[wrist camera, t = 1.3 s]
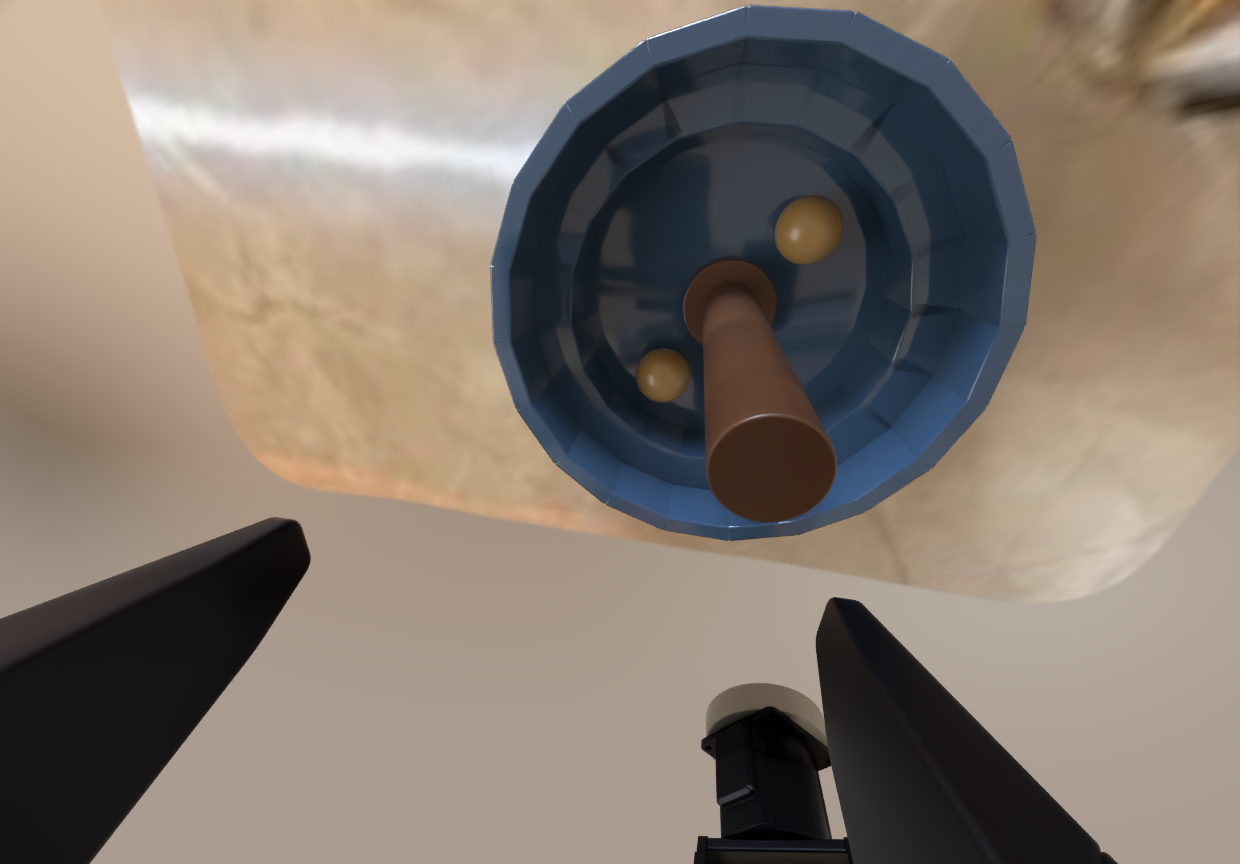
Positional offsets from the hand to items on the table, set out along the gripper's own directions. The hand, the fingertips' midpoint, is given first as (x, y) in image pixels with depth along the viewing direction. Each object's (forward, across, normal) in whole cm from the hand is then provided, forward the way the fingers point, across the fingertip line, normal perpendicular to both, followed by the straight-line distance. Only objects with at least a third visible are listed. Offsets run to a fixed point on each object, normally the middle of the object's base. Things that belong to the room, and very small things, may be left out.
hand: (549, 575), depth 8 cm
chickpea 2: (+11, -5, -5) cm, 13 cm away
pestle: (+12, -3, -2) cm, 13 cm away
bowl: (+13, -3, -2) cm, 13 cm away
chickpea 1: (+11, -1, 0) cm, 11 cm away
